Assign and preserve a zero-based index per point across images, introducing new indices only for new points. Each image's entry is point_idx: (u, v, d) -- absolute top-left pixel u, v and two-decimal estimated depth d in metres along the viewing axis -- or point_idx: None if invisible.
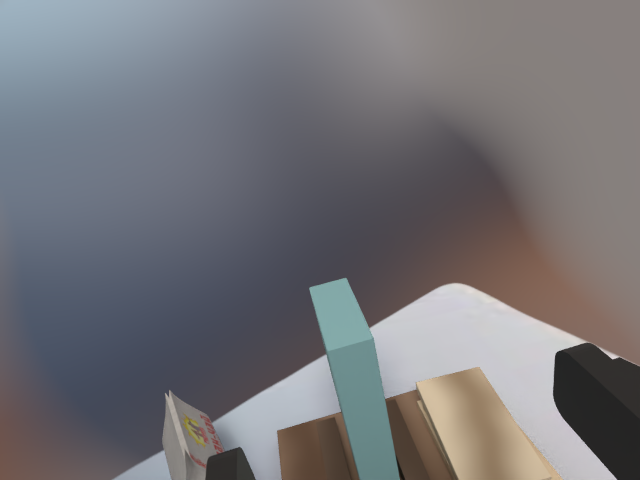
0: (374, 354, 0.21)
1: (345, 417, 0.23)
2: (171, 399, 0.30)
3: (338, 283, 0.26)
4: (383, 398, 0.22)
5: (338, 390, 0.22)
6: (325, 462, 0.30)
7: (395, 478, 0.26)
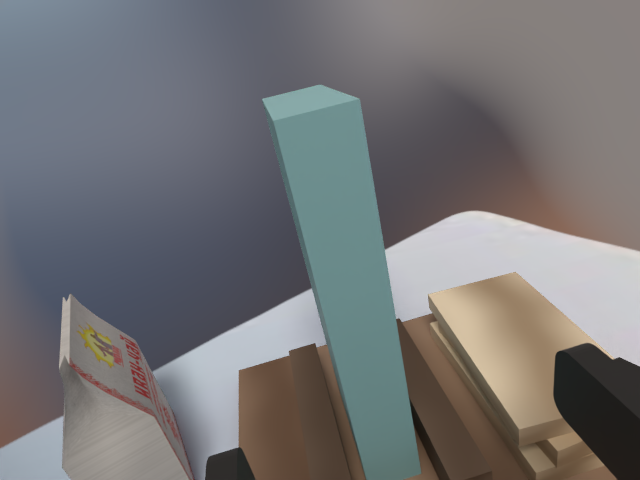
0: (362, 138, 0.12)
1: (315, 274, 0.13)
2: (69, 303, 0.20)
3: (307, 88, 0.16)
4: (380, 239, 0.13)
5: (299, 214, 0.12)
6: (298, 397, 0.21)
7: (402, 399, 0.16)
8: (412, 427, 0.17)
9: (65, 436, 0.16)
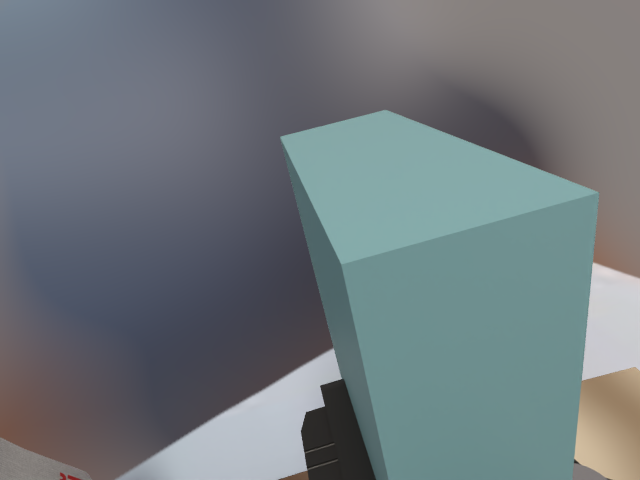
0: (580, 292, 0.04)
1: None
2: None
3: (365, 118, 0.09)
4: None
5: (391, 467, 0.05)
6: None
7: None
8: None
9: None
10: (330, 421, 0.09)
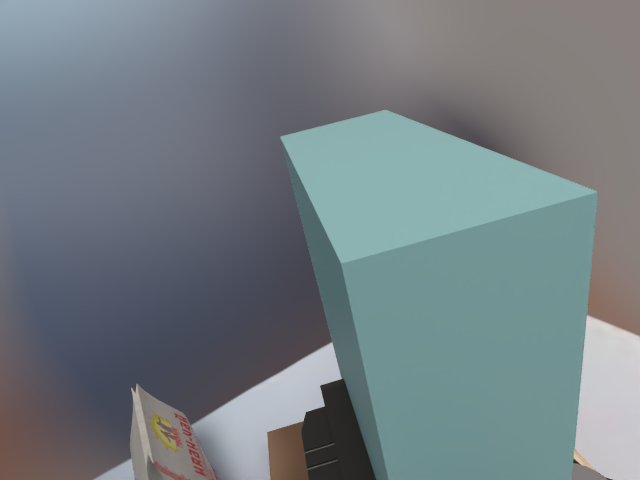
0: (579, 291, 0.04)
1: None
2: (138, 394, 0.25)
3: (365, 118, 0.09)
4: None
5: (391, 466, 0.05)
6: None
7: None
8: None
9: None
10: (330, 421, 0.09)
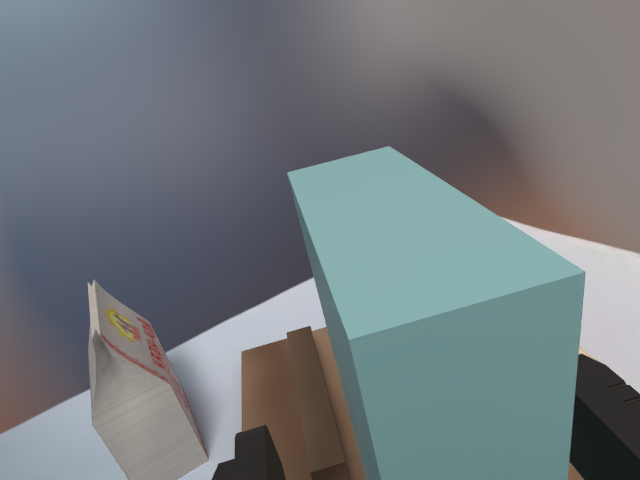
0: (569, 356, 0.04)
1: None
2: (94, 287, 0.23)
3: (369, 156, 0.09)
4: None
5: None
6: (294, 371, 0.24)
7: None
8: None
9: (95, 398, 0.19)
10: (236, 479, 0.09)
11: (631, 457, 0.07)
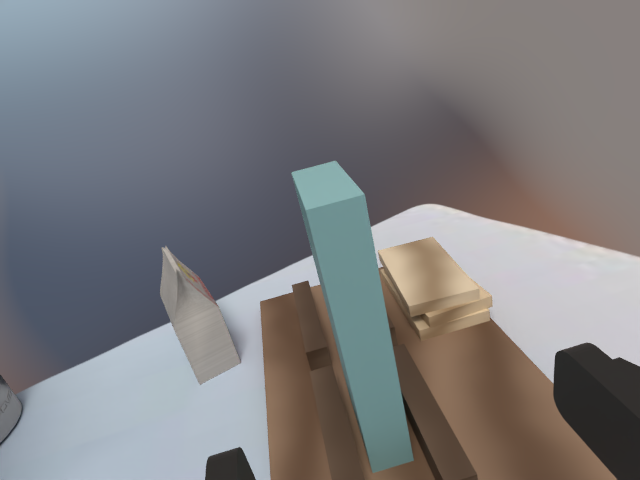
0: (366, 219, 0.17)
1: (332, 310, 0.18)
2: (167, 249, 0.35)
3: (326, 165, 0.21)
4: (379, 285, 0.18)
5: (322, 270, 0.17)
6: (297, 305, 0.36)
7: (397, 402, 0.21)
8: (405, 423, 0.22)
9: (176, 311, 0.31)
10: None
11: None
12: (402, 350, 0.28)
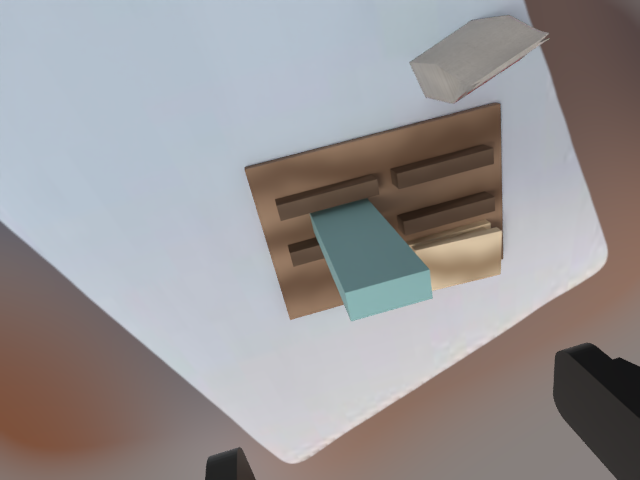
0: (347, 311, 0.30)
1: (330, 261, 0.32)
2: (537, 45, 0.30)
3: (426, 293, 0.29)
4: (337, 288, 0.32)
5: (336, 273, 0.30)
6: (458, 158, 0.40)
7: (321, 248, 0.39)
8: None
9: (446, 71, 0.33)
10: None
11: None
12: None
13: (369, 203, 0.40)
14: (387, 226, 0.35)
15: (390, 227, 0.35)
